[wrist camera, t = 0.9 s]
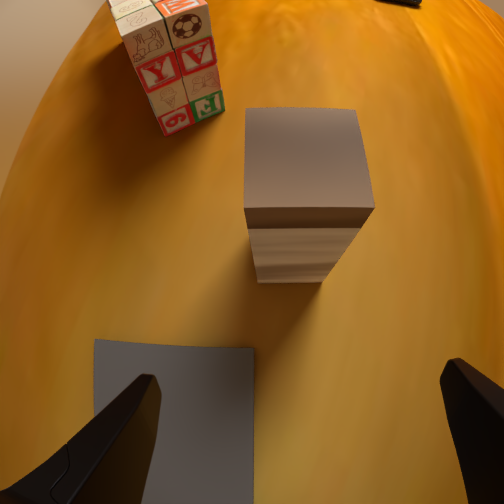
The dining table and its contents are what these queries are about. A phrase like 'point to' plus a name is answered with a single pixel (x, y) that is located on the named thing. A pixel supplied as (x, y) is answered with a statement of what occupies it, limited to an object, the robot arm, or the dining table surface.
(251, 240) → the tall pale block
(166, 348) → the dark gray tapered panel
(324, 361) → the dining table surface
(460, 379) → the robot arm
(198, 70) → the stack of blocks
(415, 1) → the carrying case or bag
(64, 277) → the dining table surface
